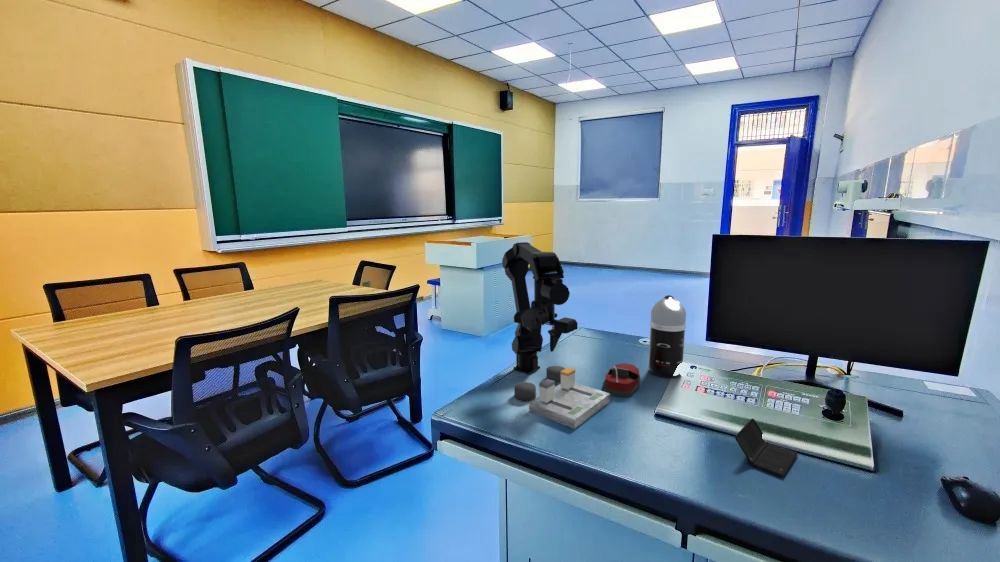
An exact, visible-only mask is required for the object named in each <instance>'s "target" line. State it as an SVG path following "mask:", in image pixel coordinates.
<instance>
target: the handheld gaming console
mask: <svg viewBox="0 0 1000 562" xmlns="http://www.w3.org/2000/svg"><path fill="white" fill-rule="evenodd" d="M762 434H764V432H763V431H762V430H761V428H760V426H759V425H758V423H757V421H756V420H755V419H754V418H751V419H750V420H749V421H748V422H747V423H746V424H745V425H744V426H743V427H742V428H741V429H740V430H739V431H738V432H737V433H736V434H735V436H734V440H736V442H737V444H738V445H739V447H740V449H741V451H742V452H743V454H744V455H745V457H746V459H747V460H748V462H749V467H752V468H755V469H757V470H759V471H763V472H766V473H767V474H769V475H773V476H775V477H778V478H780V479H783V478H784V477H785V476H786V474H787V473H786V472H788V471H789V469H790V468H791V466H792V465H793V463H794V462H795V460H796V458H797V457H796V456H798V452H797V451H794V450H791V449H790V448H789V449H788V448H786V447H783V446H780V445H777V444H775V445H772V444H773V443H772V444H769V443H768V442H765V441H764V440H763V439H762ZM795 457H796V458H795ZM794 459H795V460H794ZM793 461H794V462H793ZM792 462H793V463H792ZM791 464H792V465H791ZM789 467H790V468H789Z"/></svg>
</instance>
